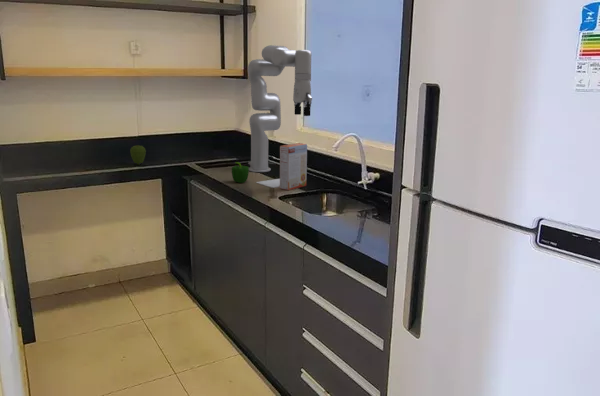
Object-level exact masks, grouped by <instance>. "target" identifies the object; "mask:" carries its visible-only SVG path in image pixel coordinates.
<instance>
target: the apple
mask: <svg viewBox="0 0 600 396" xmlns="http://www.w3.org/2000/svg"><path fill="white" fill-rule="evenodd" d="M129 152H130V156H131V159H132V161H133V163H134V164H135V163H137V164H136V165H140V164H139V163H142V164H143V162H144V161H145V158H146V154H147V153H146V152H147V150H146V148H145V147H144V145H139V144H137V145H133V146H131V147H130V150H129Z"/></svg>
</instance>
